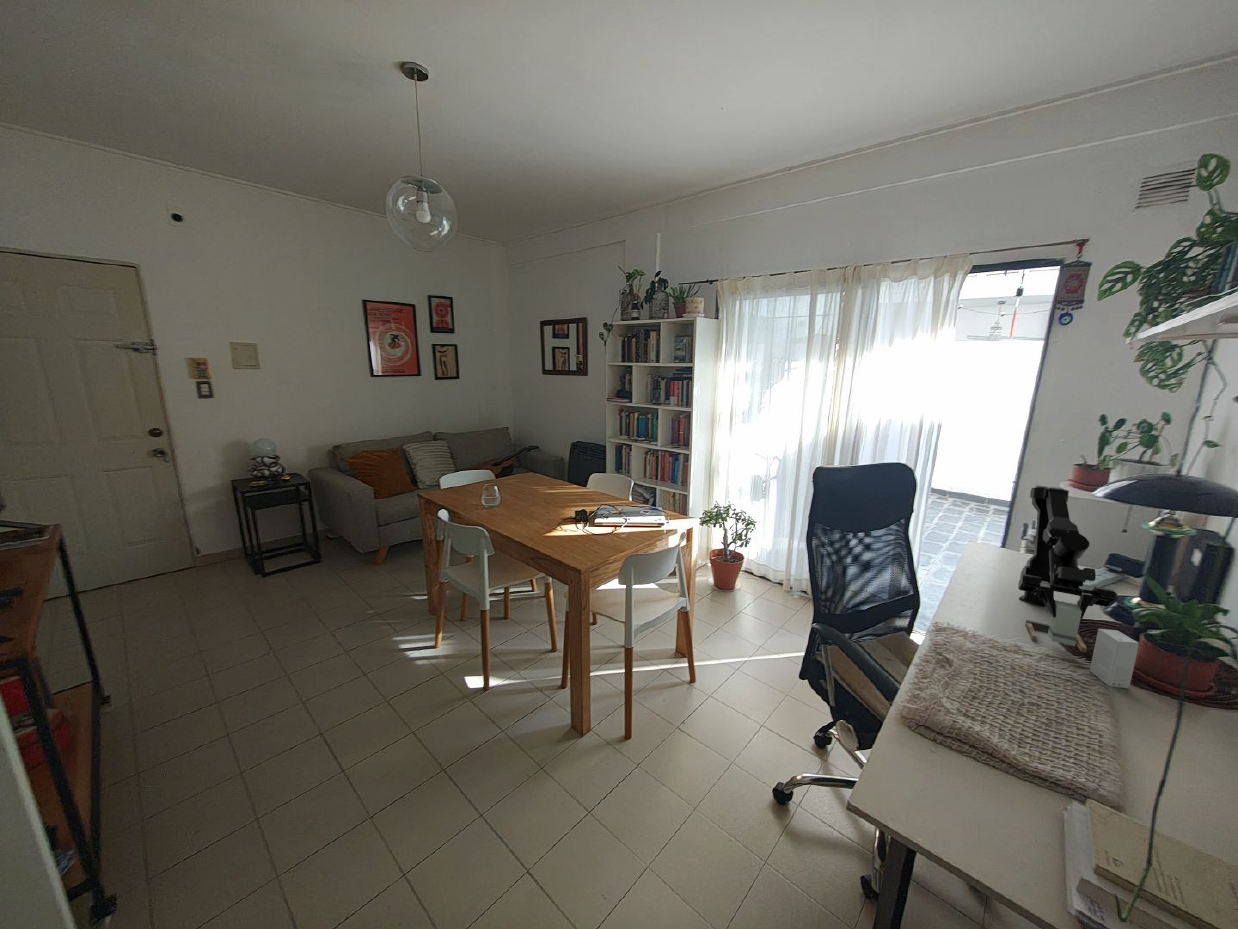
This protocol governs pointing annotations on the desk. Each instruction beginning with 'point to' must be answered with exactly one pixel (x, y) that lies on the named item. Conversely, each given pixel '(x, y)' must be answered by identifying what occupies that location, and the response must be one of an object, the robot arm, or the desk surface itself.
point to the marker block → (1065, 623)
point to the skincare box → (1114, 658)
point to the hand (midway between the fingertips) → (1066, 619)
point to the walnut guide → (1044, 627)
